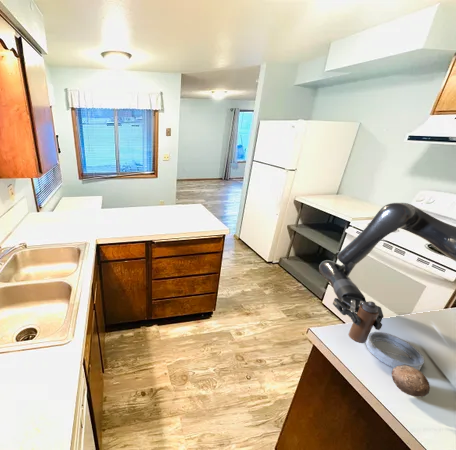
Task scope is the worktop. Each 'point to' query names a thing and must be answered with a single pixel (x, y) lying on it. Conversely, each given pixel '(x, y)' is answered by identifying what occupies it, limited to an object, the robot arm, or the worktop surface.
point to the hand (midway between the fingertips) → (368, 325)
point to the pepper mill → (364, 322)
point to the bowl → (392, 358)
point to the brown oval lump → (410, 381)
